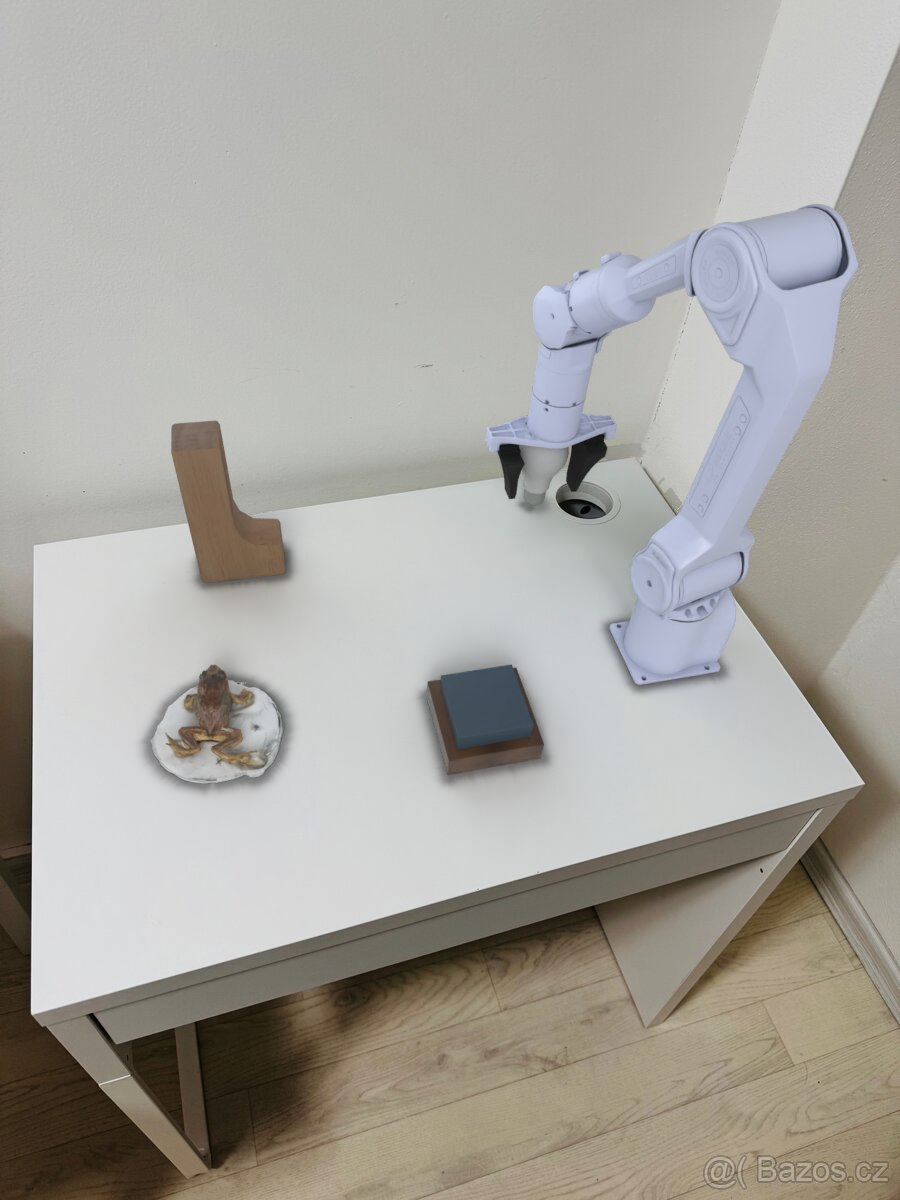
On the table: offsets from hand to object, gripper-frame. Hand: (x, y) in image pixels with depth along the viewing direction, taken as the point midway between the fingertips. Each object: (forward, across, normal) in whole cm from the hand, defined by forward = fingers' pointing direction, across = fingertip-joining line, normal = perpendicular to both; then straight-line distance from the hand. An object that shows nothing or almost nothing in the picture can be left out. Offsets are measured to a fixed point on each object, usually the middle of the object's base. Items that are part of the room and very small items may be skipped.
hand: (540, 489), depth 99 cm
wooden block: (+4, +35, +3) cm, 35 cm away
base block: (+3, +14, +28) cm, 32 cm away
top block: (+1, +14, +28) cm, 32 cm away
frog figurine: (+4, +39, +24) cm, 46 cm away
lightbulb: (+4, 0, -2) cm, 4 cm away
